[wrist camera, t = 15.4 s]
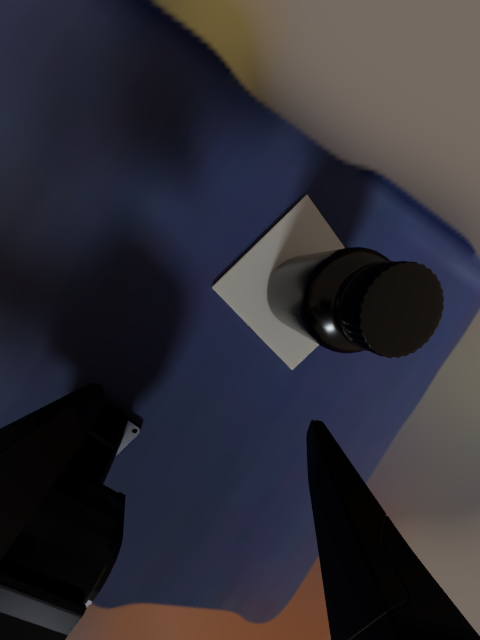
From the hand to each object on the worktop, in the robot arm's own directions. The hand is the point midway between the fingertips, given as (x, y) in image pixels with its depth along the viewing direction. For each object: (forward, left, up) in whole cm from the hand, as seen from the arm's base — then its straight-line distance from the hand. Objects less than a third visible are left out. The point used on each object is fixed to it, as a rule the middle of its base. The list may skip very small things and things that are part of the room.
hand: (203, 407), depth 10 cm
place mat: (+10, -4, -13) cm, 17 cm away
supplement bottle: (+10, -4, -13) cm, 16 cm away
